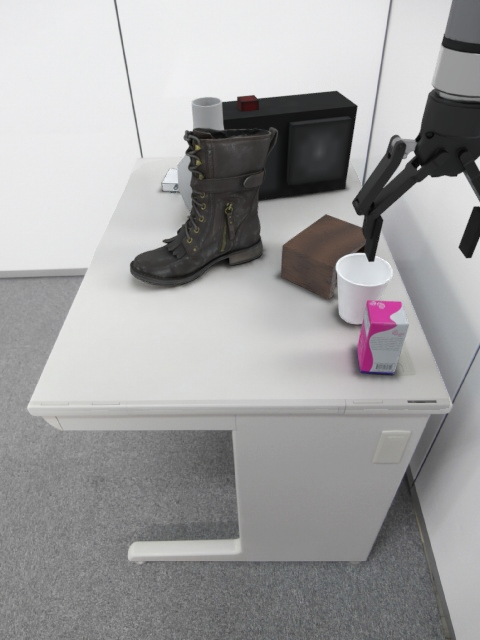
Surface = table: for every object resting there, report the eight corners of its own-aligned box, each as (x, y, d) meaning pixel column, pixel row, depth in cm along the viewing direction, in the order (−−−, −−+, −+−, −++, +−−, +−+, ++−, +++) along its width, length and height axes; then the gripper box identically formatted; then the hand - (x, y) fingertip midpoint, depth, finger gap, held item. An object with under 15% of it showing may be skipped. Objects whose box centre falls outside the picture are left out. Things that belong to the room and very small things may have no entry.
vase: (250, 232, 107) (250, 112, 88) (183, 238, 106) (168, 117, 87) (242, 200, 119) (240, 88, 100) (181, 205, 118) (167, 92, 99)
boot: (125, 269, 97) (92, 136, 78) (257, 230, 108) (258, 104, 88) (141, 298, 90) (109, 159, 70) (281, 254, 100) (288, 121, 81)
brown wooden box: (368, 263, 97) (374, 232, 92) (328, 299, 88) (333, 267, 83) (322, 244, 103) (325, 213, 97) (280, 276, 94) (282, 245, 89)
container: (174, 168, 135) (173, 160, 134) (210, 169, 134) (210, 161, 132) (157, 200, 121) (156, 191, 119) (198, 201, 120) (197, 192, 118)
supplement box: (389, 349, 78) (404, 300, 70) (394, 375, 74) (410, 325, 66) (355, 347, 78) (366, 298, 71) (359, 373, 74) (371, 323, 66)
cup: (386, 332, 81) (399, 285, 74) (332, 333, 81) (340, 286, 74) (374, 298, 88) (386, 252, 81) (325, 298, 88) (331, 252, 81)
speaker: (348, 192, 122) (363, 98, 105) (224, 209, 116) (219, 113, 100) (327, 169, 132) (337, 81, 116) (213, 184, 127) (207, 94, 111)
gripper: (560, 78, 51) (492, 236, 65) (344, 85, 50) (324, 243, 65) (602, 98, 45) (517, 266, 59) (359, 106, 45) (333, 273, 59)
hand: (416, 254), depth 62 cm, fingers open, 13 cm apart
